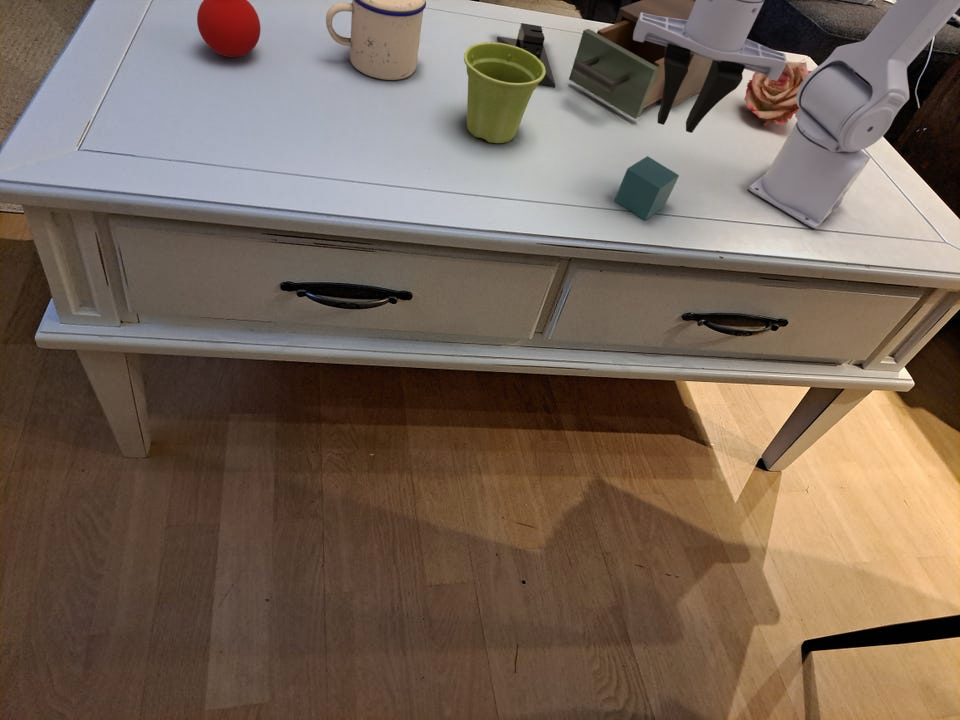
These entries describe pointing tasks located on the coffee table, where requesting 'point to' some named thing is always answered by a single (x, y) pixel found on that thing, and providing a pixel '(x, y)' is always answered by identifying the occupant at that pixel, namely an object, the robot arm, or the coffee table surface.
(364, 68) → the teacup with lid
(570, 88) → the coffee table surface
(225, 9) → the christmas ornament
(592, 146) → the coffee table surface
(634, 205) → the block
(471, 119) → the plant pot
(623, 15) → the cabinet
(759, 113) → the flower
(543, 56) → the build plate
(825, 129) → the robot arm
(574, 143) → the coffee table surface
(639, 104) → the drawer
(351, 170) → the coffee table surface
